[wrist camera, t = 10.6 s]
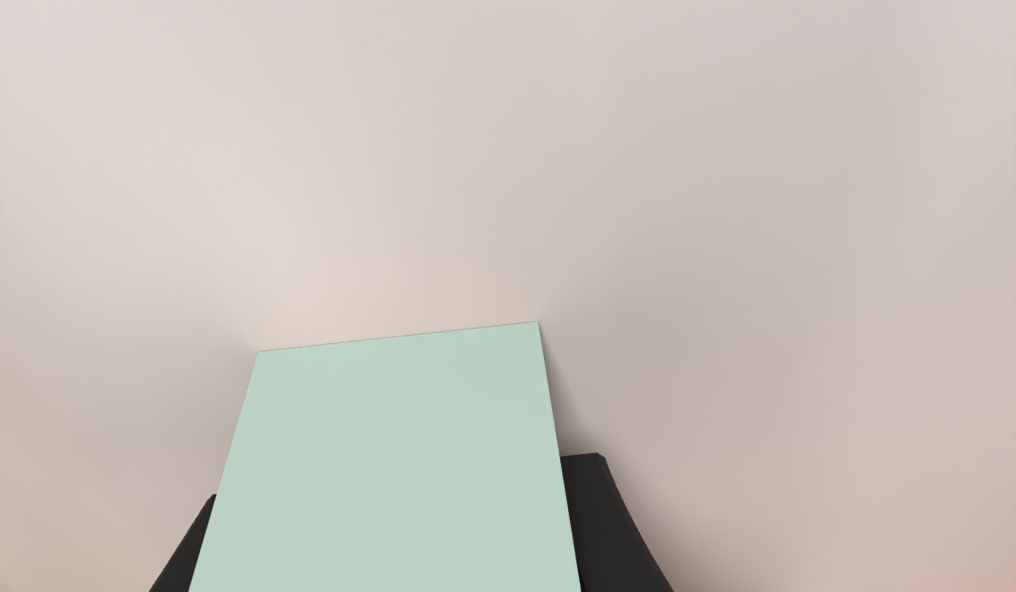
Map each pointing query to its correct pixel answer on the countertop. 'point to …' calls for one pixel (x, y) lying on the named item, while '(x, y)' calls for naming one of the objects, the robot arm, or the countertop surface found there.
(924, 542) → the countertop surface
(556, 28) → the countertop surface
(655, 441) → the countertop surface
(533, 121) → the countertop surface
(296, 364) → the block
